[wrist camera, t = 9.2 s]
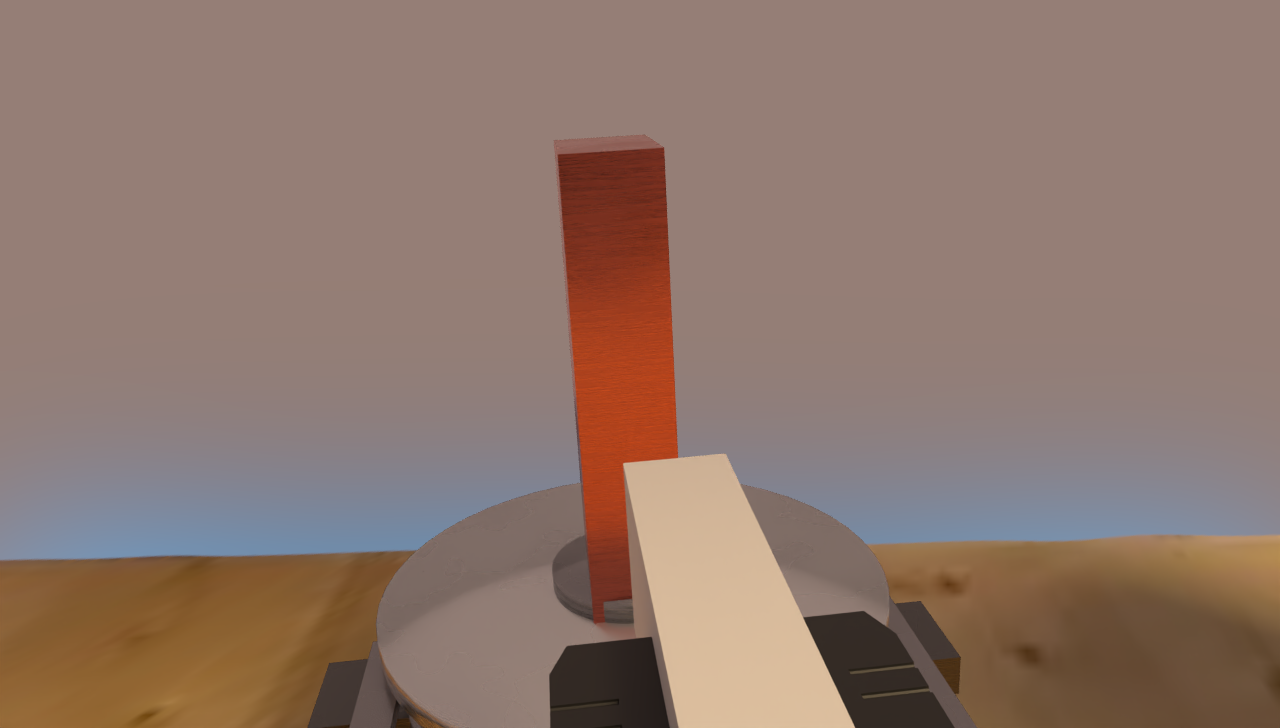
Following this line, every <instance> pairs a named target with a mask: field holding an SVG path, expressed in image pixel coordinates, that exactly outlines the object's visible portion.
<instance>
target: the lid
mask: <svg viewBox="0 0 1280 728" xmlns="http://www.w3.org/2000/svg"><path fill="white" fill-rule="evenodd" d="M554 148H555V161H556V174H557V186H558V199H559V211H560V224H561V238H562V250H563V263H564V276H565V289H566V301H567V314H568V327H569V340H570V353H571V366H572V378H573V391H574V404H575V416H576V429H577V442H578V454H579V468H580V481H581V483H577V484H572V485H565V486H560V487H556V488H551V489H547V490H543V491H538V492H535V493H531V494H528V495H525V496H521V497H518V498H515V499H511V500H509V501H506V502H503V503H500V504H498V505H495V506H492V507H490V508H487V509H485V510H483V511H481V512H478V513H477V514H474V515H472V516H470V517H467V518H465V519H464V520H462V521H460V522H458V523H456V524H455V525H453V526H451V527H449V528H448V529H446V530H444V531H443V532H441V533H440V534H438V535H437V536H435V537H434V538H432V539H431V540H429V541H428V542H427V543H425V544H424V545H423V546H422V547H421V548H420V549H418V550H417V551H416V552H415V553H414V554H413V555H411V556H410V557H409V558H408V560H407V561H406V562H405V563H404V564H403V565H402V566H401V567H400V568H399V570H398V571H397V572H396V573H395V575H394V576H393V578H392V579H391V581H390V583H389V584H388V586H387V587H386V589H385V592H384V594H383V597H382V599H381V601H380V604H379V608H378V614H377V620H376V629H377V639H378V647H379V653H380V660H381V666H382V670H383V673H384V676H385V679H386V682H387V684H388V687H389V689H390V690H391V692H392V694H393V695H394V697H395V698H396V700H397V701H398V703H399V704H400V706H401V707H402V708H403V709H404V710H405V711H406V712H407V713H408V714H409V715H410V716H411V717H412V718H413V719H414V720H415V721H416V722H417V723H418V724H419V725H420V726H422V727H423V728H550V691H549V674H550V673H551V671H552V669H553V668H554V666H555V664H556V663H557V661H558V659H559V658H560V656H561V654H562V653H563V651H564V649H565V648H566V646H571V645H580V644H589V643H598V642H608V641H617V640H626V639H635V638H636V634H635V628H634V615H633V600H632V586H631V571H630V557H629V542H628V528H627V513H626V499H625V484H624V470H623V463H630V462H641V461H651V460H662V459H673V458H678V446H677V425H676V403H675V381H674V380H675V379H674V357H673V336H672V313H671V292H670V291H671V290H670V270H669V269H670V268H669V247H668V224H667V202H666V181H665V180H666V179H665V158H664V147H662V146H661V145H659V144H658V143H657V142H655V141H653V140H652V139H650V138H649V137H647V136H646V135H631V136H616V137H601V138H584V139H568V140H554ZM740 485H741V488H742V490H743V492H744V494H745V496H746V498H747V500H748V502H749V504H750V507H751V509H752V511H753V513H754V515H755V517H756V519H757V521H758V523H759V526H760V528H761V530H762V532H763V534H764V536H765V538H766V540H767V543H768V545H769V547H770V549H771V551H772V553H773V555H774V557H775V559H776V562H777V564H778V566H779V568H780V570H781V572H782V574H783V576H784V578H785V581H786V583H787V585H788V587H789V589H790V591H791V593H792V595H793V597H794V600H795V602H796V604H797V606H798V608H799V610H800V612H801V614H802V616H803V617H811V616H820V615H829V614H839V613H848V612H857V611H865V612H866V613H868V614H869V615H871V616H872V617H873V618H875V619H876V620H878V621H879V622H881V623H882V624H883V625H885V626H886V627H888V628H889V588H888V584H887V581H886V577H885V573H884V571H883V569H882V567H881V565H880V563H879V562H878V560H877V558H876V556H875V555H874V554H873V552H872V551H871V550H870V549H869V548H868V546H867V545H866V544H865V543H864V542H863V541H862V540H861V539H860V538H859V537H858V536H857V535H856V534H854V533H853V532H852V531H851V530H850V529H849V528H848V527H846V526H844V525H843V524H842V523H840V522H838V521H837V520H836V519H834V518H832V517H831V516H829V515H827V514H825V513H823V512H821V511H819V510H818V509H816V508H814V507H812V506H809V505H807V504H805V503H802V502H800V501H797V500H795V499H792V498H789V497H787V496H784V495H780V494H777V493H774V492H771V491H768V490H764V489H759V488H755V487H751V486H747V485H742V484H740Z"/></svg>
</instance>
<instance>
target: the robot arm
mask: <svg viewBox="0 0 1280 728" xmlns="http://www.w3.org/2000/svg"><path fill="white" fill-rule="evenodd" d="M623 470H624V484H625V499H626V513H627V528H628V542H629V557H630V571H631V586H632V600H633V615H634V628H635V634H636V638H635V639H626V640H617V641H608V642H598V643H589V644H580V645H571V646H566V648H565V649H564V651H563V653H562V654H561V656H560V658H559V659H558V661H557V663H556V664H555V666H554V668H553V669H552V671H551V673H550V674H549V691H550V728H955V727H954V726H953V724H952V722H951V721H950V719H949V718H948V716H947V714H946V713H945V711H944V710H943V708H942V706H941V705H940V703H939V701H938V700H937V698H936V697H935V695H934V693H933V692H930V691H929V685H928V684H927V682H926V681H925V679H924V677H923V676H922V674H921V673H920V671H919V669H918V668H915V666H914V661H913V660H912V658H911V656H910V655H909V653H908V652H907V650H906V648H905V647H904V645H903V644H902V642H901V640H900V639H899V637H898V636H897V634H896V633H895V632H893V631H892V630H891V629H889V628H888V627H886V626H885V625H883V624H882V623H881V622H879V621H878V620H876V619H875V618H873V617H872V616H871V615H869V614H868V613H866V612H865V611H857V612H848V613H839V614H829V615H820V616H811V617H803V616H802V614H801V612H800V610H799V608H798V606H797V604H796V602H795V600H794V597H793V595H792V593H791V591H790V589H789V587H788V585H787V583H786V581H785V578H784V576H783V574H782V572H781V570H780V568H779V566H778V564H777V562H776V559H775V557H774V555H773V553H772V551H771V549H770V547H769V545H768V543H767V540H766V538H765V536H764V534H763V532H762V530H761V528H760V526H759V523H758V521H757V519H756V517H755V515H754V513H753V511H752V509H751V507H750V504H749V502H748V500H747V498H746V496H745V494H744V492H743V490H742V488H741V485H740V483H739V482H738V479H737V477H736V475H735V473H734V471H733V469H732V466H731V464H730V462H729V460H728V458H727V456H726V454H716V455H705V456H694V457H683V458H673V459H662V460H651V461H641V462H630V463H623Z"/></svg>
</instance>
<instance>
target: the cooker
mask: <svg viewBox="0 0 1280 728" xmlns="http://www.w3.org/2000/svg"><path fill="white" fill-rule="evenodd" d="M889 629H891V630H892V631H893V632H895V633H896V634H897V636H898V637H899V639H900V640H901V642H902V644H903V645H904V647H905V648H906V650H907V652H908V653H909V655H910V656H911V658H912V660H913V661H914V666H915V668H918V669H919V671H920V673H921V674H922V676H923V677H924V679H925V681H926V682H927V684H928V685H929V691H930V692H933V693H934V695H935V697H936V698H937V700H938V701H939V703H940V705H941V706H942V708H943V710H944V711H945V713H946V714H947V716H948V718H949V719H950V721H951V722H952V724H953V726H954V727H955V728H977V727H976V726H975V724H974V723H973V721H972V719H971V718H970V716H969V715H968V713H967V712H966V710H965V709H964V707H963V706H962V704H961V703H960V701H959V700H958V698H957V697H956V695H955V694H958V693H959V677H960V658H961V657H960V656H959V654H958V653H957V652H956V650H955V649H954V647H953V646H952V645H951V643H950V642H949V640H948V639H947V638H946V636H945V635H944V633H943V632H942V631H941V629H940V628H939V626H938V625H937V624H936V622H935V621H934V619H933V618H932V617H931V615H930V614H929V612H928V611H927V610H926V608H925V607H924V605H923V604H922V603H921V601H917V602H907V603H898V604H895V603H894V602H893V600H892V599H891V597H890V596H889ZM308 728H423V727H422V726H420V725H419V724H418V723H417V722H416V721H415V720H414V719H413V718H412V717H411V716H410V715H409V714H408V713H407V712H406V711H405V710H404V709H403V708H402V707H401V706H400V704H399V703H398V701H397V700H396V698H395V697H394V695H393V694H392V692H391V690H390V689H389V687H388V684H387V682H386V679H385V676H384V673H383V670H382V666H381V660H380V653H379V647H378V641H376V642H373V644H372V648H371V651H370V655H369V658H368V659H364V660H355V661H345V662H336V663H329V666H328V669H327V672H326V675H325V678H324V681H323V684H322V687H321V689H320V692H319V695H318V698H317V701H316V704H315V707H314V710H313V713H312V716H311V719H310V722H309V725H308Z"/></svg>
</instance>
